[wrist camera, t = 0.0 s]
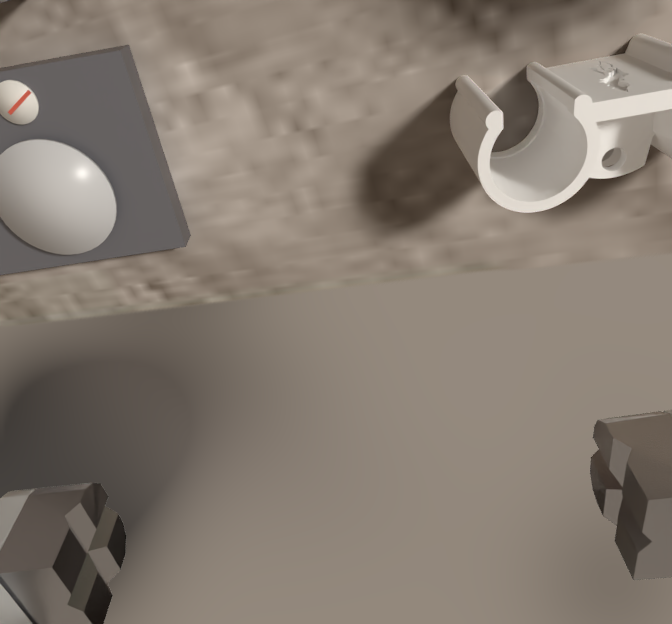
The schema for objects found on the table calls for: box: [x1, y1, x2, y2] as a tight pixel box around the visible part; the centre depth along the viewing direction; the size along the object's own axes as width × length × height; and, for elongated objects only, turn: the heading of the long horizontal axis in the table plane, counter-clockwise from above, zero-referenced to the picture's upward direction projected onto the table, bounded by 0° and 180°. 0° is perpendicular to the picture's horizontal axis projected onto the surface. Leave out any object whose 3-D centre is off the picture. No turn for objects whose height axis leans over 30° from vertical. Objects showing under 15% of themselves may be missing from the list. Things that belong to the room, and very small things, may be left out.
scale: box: [0, 45, 191, 275], centre depth 54 cm, size 18×20×4 cm
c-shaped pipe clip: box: [450, 34, 672, 213], centre depth 48 cm, size 25×10×12 cm, turn 100°
